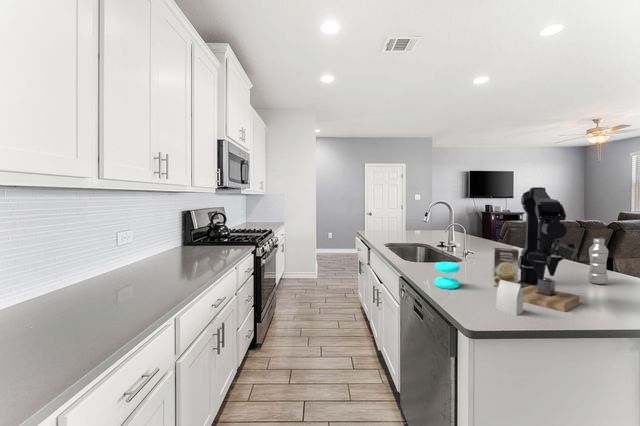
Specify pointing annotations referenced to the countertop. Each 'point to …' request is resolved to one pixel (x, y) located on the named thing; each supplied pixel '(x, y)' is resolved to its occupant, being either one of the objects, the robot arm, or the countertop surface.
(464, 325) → the countertop surface
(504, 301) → the white upright block
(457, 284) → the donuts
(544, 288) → the peg
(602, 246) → the plastic bottle
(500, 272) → the coffee box
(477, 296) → the countertop surface
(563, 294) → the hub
